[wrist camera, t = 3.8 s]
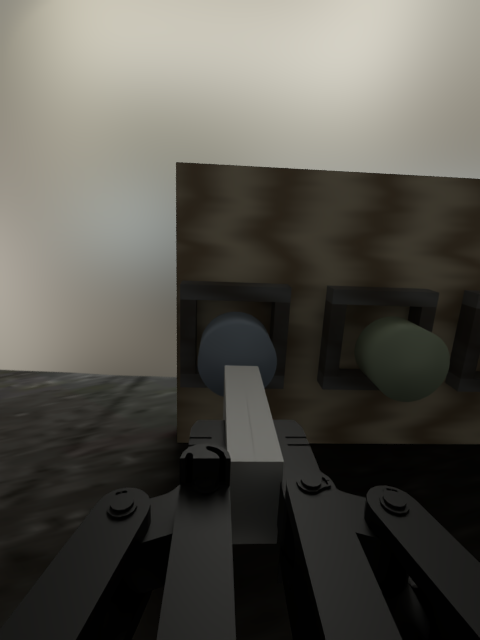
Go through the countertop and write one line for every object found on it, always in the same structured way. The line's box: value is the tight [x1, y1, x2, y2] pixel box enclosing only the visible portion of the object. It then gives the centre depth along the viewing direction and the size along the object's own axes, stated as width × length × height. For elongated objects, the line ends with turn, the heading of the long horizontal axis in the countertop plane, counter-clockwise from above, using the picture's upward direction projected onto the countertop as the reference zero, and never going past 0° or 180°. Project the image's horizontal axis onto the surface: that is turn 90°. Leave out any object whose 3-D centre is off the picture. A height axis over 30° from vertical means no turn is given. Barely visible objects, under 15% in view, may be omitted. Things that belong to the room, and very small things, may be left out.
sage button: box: [354, 316, 450, 402], centre depth 21 cm, size 4×3×4 cm
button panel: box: [176, 162, 480, 444], centre depth 26 cm, size 28×4×20 cm, turn 93°
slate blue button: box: [198, 312, 277, 397], centre depth 21 cm, size 4×3×4 cm
